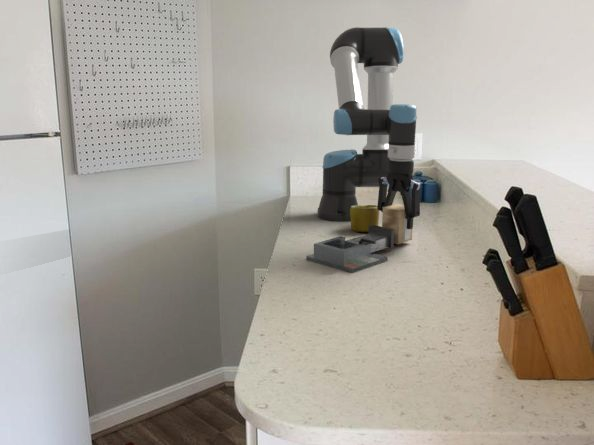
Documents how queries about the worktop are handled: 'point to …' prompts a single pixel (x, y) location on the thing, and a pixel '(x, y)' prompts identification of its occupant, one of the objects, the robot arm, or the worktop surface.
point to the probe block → (395, 221)
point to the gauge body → (345, 255)
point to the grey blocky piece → (374, 238)
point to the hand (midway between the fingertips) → (396, 236)
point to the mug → (364, 217)
